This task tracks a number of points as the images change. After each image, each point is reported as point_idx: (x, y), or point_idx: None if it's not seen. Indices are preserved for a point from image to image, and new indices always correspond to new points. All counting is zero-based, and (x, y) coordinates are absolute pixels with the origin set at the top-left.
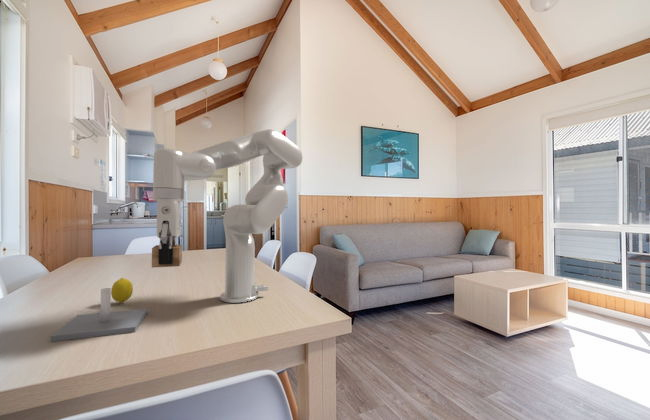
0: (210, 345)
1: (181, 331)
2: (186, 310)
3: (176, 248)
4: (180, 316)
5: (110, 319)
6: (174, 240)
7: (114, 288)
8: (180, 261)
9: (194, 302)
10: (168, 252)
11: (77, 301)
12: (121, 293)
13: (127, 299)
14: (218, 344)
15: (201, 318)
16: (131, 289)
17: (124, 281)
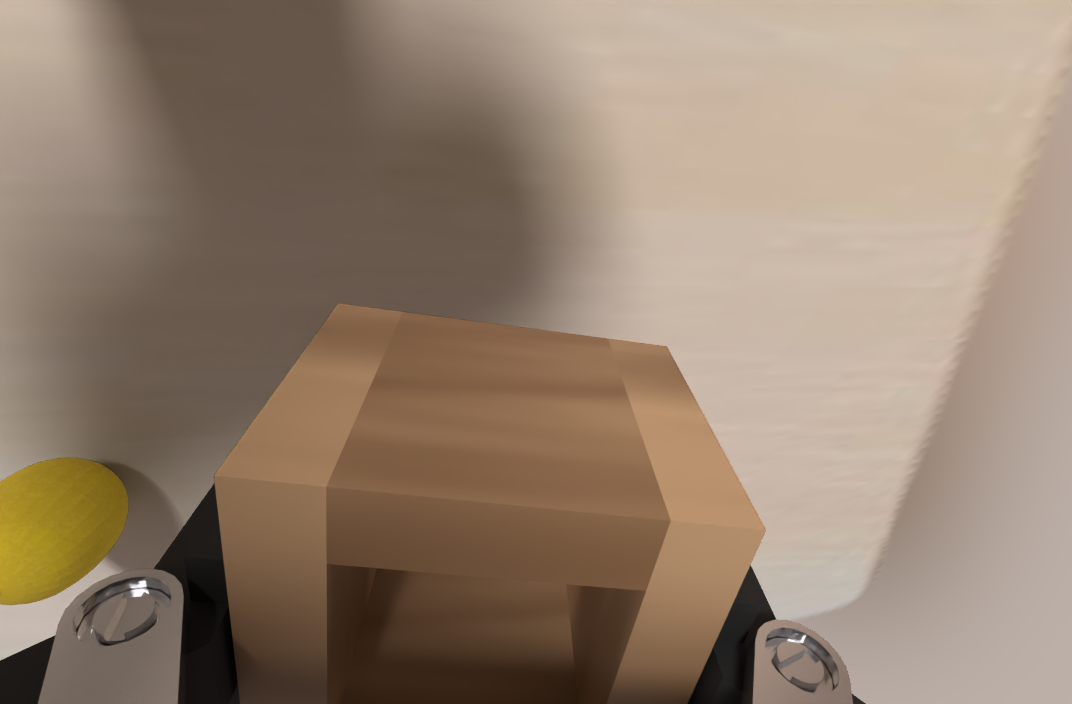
0: (1041, 59)
1: (746, 187)
2: (370, 125)
3: (734, 557)
4: (485, 174)
5: None
6: (176, 695)
7: (85, 574)
8: (530, 346)
9: (171, 42)
10: (764, 602)
11: (29, 631)
12: (112, 519)
13: (96, 462)
14: (1066, 12)
15: (592, 43)
16: (49, 487)
17: (23, 567)
